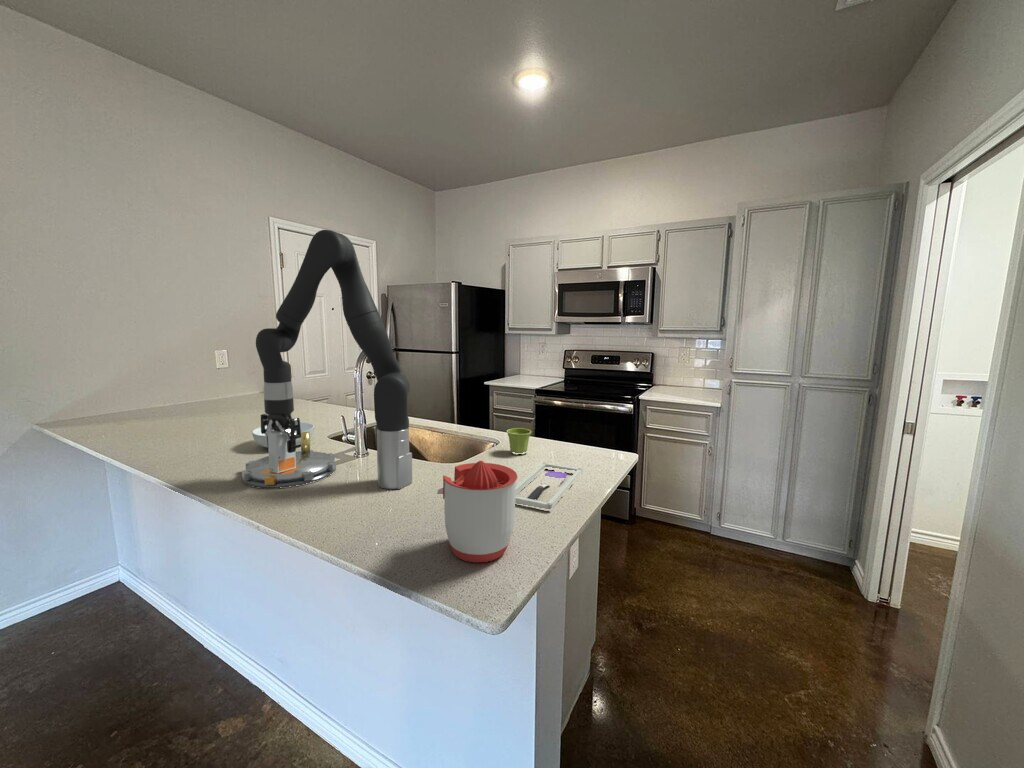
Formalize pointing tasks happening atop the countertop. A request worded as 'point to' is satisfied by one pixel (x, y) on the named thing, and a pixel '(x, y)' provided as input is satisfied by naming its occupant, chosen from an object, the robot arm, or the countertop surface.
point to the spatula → (540, 489)
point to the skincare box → (279, 453)
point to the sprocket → (305, 469)
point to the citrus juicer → (479, 510)
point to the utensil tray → (555, 498)
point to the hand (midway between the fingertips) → (281, 450)
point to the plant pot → (518, 439)
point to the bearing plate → (287, 484)
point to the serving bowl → (305, 427)
